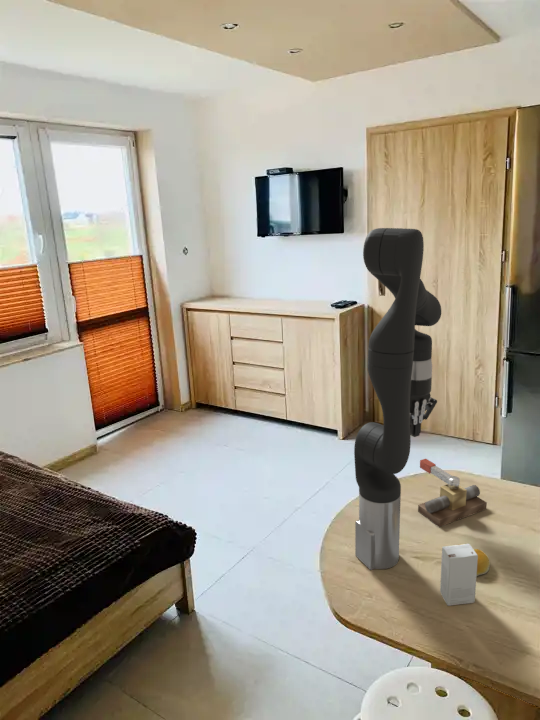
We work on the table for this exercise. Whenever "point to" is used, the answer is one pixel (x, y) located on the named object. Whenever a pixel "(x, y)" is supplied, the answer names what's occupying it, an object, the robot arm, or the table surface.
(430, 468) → the valve lever
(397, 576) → the table surface
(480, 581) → the table surface
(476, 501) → the valve board
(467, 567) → the skincare box
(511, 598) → the table surface
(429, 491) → the table surface
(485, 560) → the bread roll
